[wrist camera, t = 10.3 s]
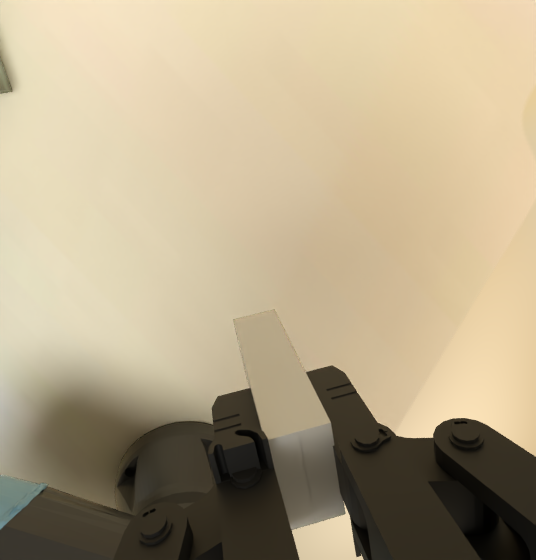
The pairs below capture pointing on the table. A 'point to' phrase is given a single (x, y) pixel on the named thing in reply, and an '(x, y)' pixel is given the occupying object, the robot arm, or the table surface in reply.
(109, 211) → the table surface
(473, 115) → the table surface
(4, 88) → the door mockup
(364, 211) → the table surface
